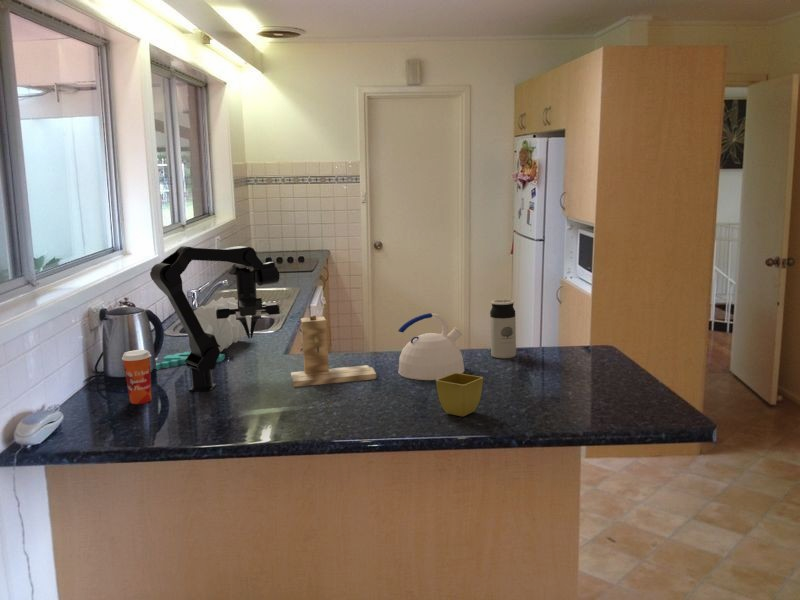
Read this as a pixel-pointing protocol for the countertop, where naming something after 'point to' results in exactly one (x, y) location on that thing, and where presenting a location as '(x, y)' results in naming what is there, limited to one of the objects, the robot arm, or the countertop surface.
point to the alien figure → (179, 360)
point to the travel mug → (503, 329)
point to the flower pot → (459, 393)
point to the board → (333, 376)
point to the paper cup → (138, 375)
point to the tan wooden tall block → (314, 344)
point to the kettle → (431, 353)
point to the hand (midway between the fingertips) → (250, 338)
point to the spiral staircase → (222, 322)
